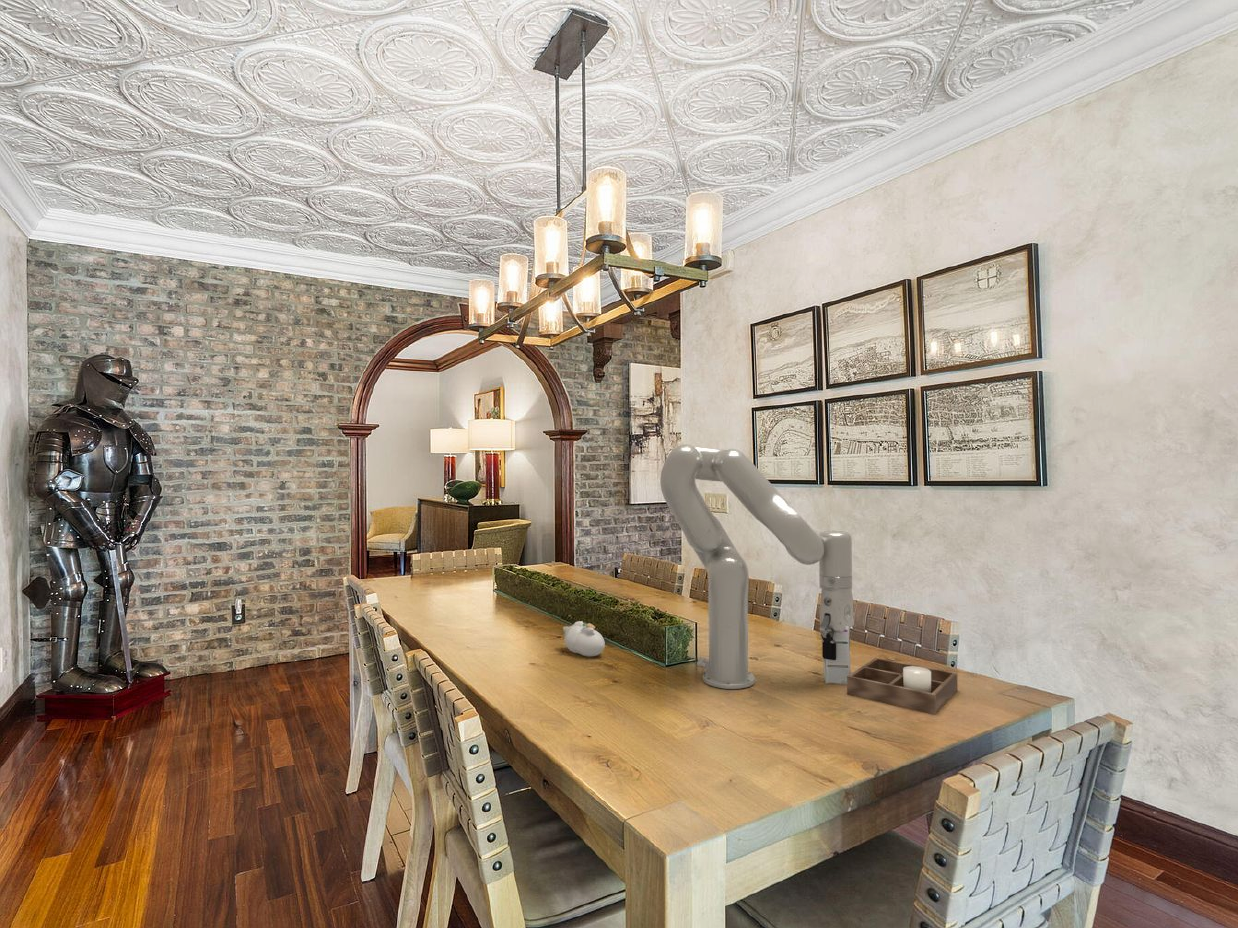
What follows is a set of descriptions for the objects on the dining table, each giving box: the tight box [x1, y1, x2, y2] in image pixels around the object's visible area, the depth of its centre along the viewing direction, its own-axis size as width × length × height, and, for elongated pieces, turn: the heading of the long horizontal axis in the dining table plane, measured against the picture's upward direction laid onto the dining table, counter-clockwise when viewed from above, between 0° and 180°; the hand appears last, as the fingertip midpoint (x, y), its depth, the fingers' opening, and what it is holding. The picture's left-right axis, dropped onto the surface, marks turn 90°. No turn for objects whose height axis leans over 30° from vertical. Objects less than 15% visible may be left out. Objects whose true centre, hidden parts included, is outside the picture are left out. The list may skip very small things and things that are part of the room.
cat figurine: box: [562, 620, 606, 658], centre depth 180 cm, size 10×8×15 cm
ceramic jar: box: [903, 666, 931, 693], centre depth 139 cm, size 6×6×7 cm
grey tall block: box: [822, 626, 851, 685], centre depth 154 cm, size 6×6×14 cm
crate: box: [846, 657, 959, 716], centre depth 145 cm, size 18×18×5 cm
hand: (836, 654), depth 154 cm, fingers closed on grey tall block, 7 cm apart
